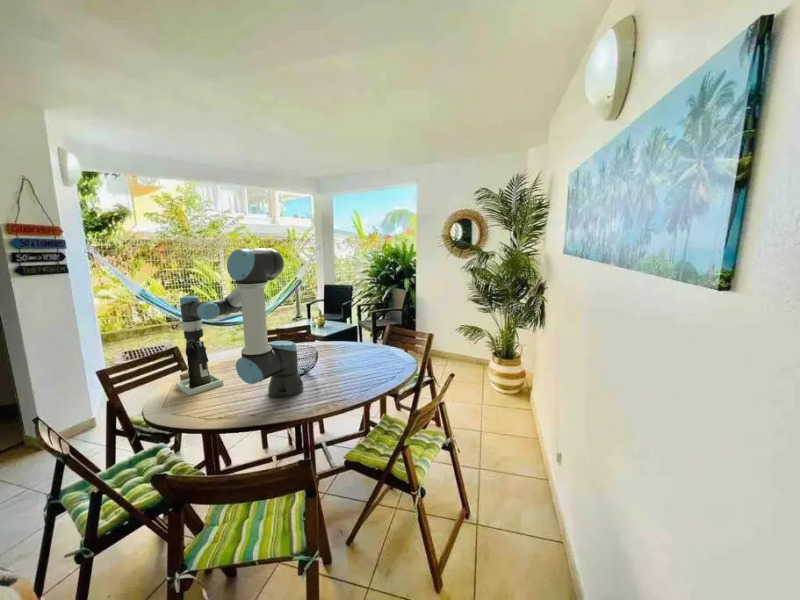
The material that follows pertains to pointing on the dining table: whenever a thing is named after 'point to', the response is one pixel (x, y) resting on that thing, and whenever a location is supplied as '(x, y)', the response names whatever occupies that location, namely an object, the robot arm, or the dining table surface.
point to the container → (195, 370)
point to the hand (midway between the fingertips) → (198, 372)
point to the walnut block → (184, 376)
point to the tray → (189, 391)
